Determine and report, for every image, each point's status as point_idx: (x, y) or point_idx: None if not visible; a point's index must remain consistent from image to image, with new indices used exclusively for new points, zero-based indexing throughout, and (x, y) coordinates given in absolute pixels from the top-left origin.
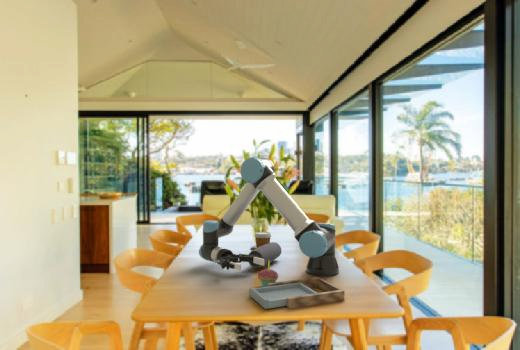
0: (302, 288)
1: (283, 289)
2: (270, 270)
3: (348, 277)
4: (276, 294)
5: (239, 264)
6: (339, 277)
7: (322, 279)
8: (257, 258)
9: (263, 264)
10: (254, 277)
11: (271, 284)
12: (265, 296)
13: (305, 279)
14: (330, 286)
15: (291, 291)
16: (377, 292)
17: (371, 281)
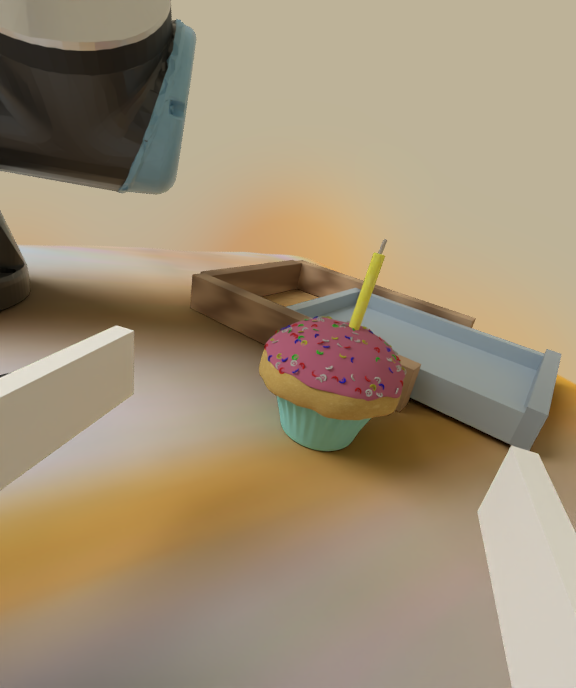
0: (309, 316)
1: None
2: (337, 322)
3: (47, 261)
4: (431, 363)
5: (527, 458)
6: (49, 272)
7: (219, 270)
8: (45, 380)
9: (128, 381)
10: (104, 596)
11: (406, 359)
12: (489, 384)
13: (246, 293)
14: (270, 272)
15: None
16: (199, 253)
17: (94, 246)
